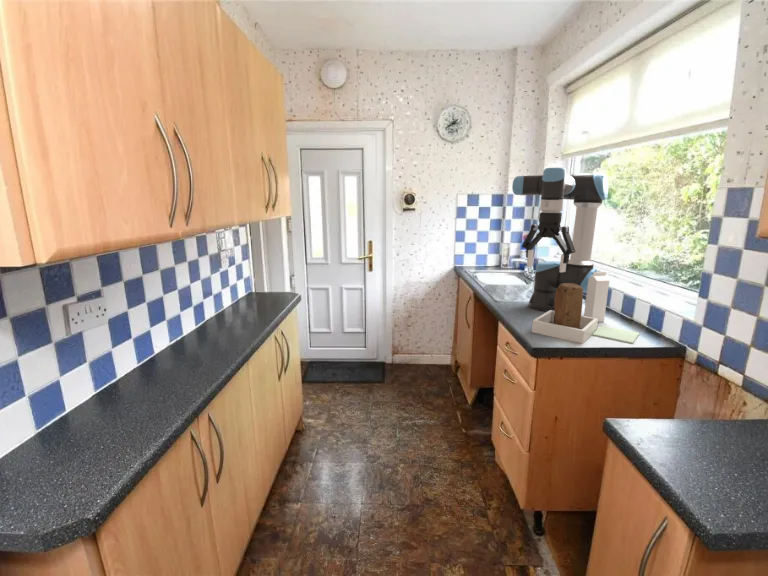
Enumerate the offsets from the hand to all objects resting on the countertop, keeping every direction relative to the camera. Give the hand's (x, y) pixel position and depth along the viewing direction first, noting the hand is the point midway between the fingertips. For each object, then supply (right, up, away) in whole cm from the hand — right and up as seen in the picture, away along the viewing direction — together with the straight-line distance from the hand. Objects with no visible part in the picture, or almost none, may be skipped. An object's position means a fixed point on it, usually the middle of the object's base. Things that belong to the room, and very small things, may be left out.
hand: (545, 269), depth 147 cm
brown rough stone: (+14, -25, +14) cm, 32 cm away
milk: (+34, -22, +30) cm, 50 cm away
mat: (+33, -26, +10) cm, 43 cm away
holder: (+14, -25, +14) cm, 32 cm away
